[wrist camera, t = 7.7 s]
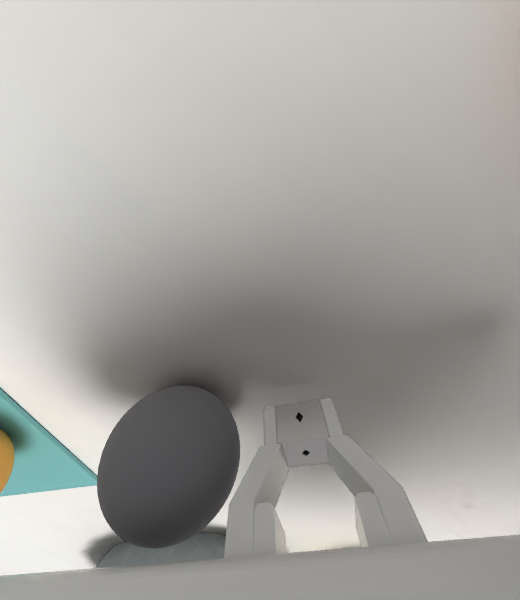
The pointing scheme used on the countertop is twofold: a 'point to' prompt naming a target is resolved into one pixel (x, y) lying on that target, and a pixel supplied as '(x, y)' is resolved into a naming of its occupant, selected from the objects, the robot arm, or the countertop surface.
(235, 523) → the robot arm
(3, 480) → the ball
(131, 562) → the pie
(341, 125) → the countertop surface
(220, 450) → the ball
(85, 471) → the mark
